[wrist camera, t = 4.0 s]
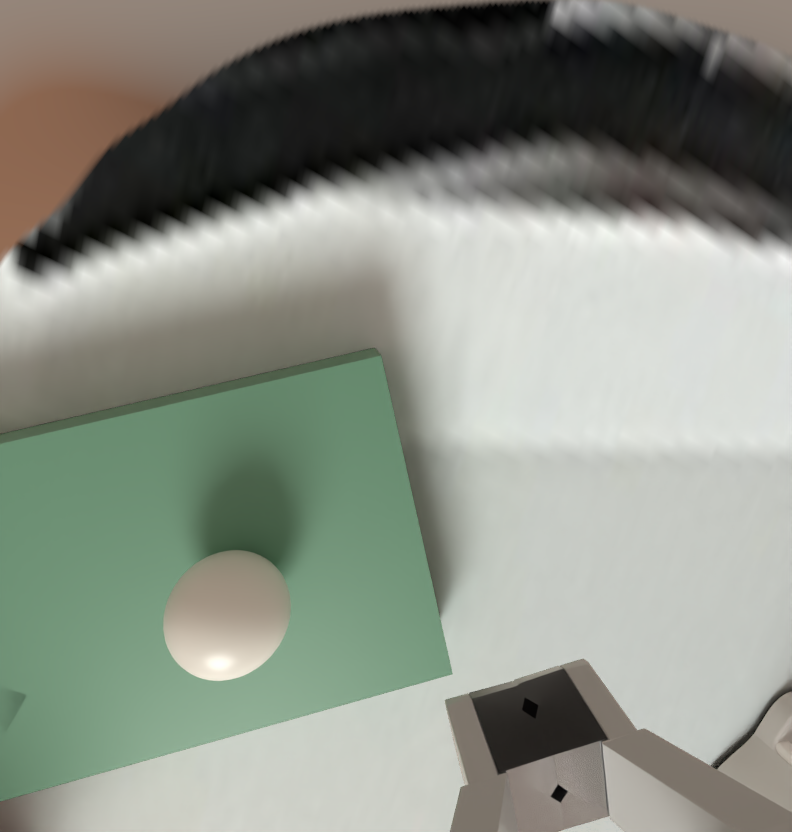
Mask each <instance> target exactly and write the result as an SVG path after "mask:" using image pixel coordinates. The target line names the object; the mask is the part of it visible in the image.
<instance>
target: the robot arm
mask: <svg viewBox="0 0 792 832" xmlns="http://www.w3.org/2000/svg"><path fill="white" fill-rule="evenodd" d="M445 705H446V710H447V714H448V719H449V723H450V727H451V732H452V736H453V740H454V745H455V749H456V753H457V757H458V761H459V765H460V769H461V773H462V776H463V780H464V784H465V786H462V787H461V789H460V793H459V797H458V801H457V805H456V809H455V813H454V817H453V821H452V825H451V830H450V832H558V831H561V830H564V829H567V828H571V827H574V826H577V825H581V824H584V823H587V822H591V821H594V820H598V819H601V818H604V817H608V816H610V820H612V821H613V822H614V823H615V824H616V825H617V826H618V827H620V828H621V829H622V830H623V831H624V832H792V692H789V693H786V694H784V695H783V696H781V697H780V698H779V699H778V700H777V701H776V702H775V703H774V704H773V705H772V707H771V708H770V709H769V711H768V712H767V714H766V715H765V717H764V718H763V720H762V721H761V723H760V725H759V726H758V728H757V730H756V731H755V733H754V734H753V736H752V737H751V738H750V739H749V740H748V741H747V742H746V743H745V744H744V745H743V746H741V747H740V748H739V749H738V750H737V751H736V752H735V753H734V754H732V755H731V756H730V757H729V758H728V759H727V760H726V761H725V762H724V763H723V764H722V765H721V766H720V767H719V768H718V769H715V768H713V767H711V766H710V765H708V764H706V763H704V762H703V761H701V760H699V759H697V758H696V757H694V756H692V755H690V754H689V753H687V752H685V751H683V750H682V749H680V748H678V747H676V746H675V745H673V744H671V743H669V742H668V741H666V740H664V739H662V738H661V737H659V736H657V735H655V734H654V733H652V732H650V731H648V730H647V729H641V730H637V729H636V728H635V726H634V725H633V724H632V722H631V721H630V719H629V718H628V717H627V715H626V714H625V712H624V711H623V710H622V708H621V707H620V706H619V704H618V703H617V701H616V700H615V699H614V697H613V696H612V694H611V693H610V692H609V690H608V689H607V687H606V686H605V685H604V683H603V682H602V680H601V679H600V678H599V676H598V675H597V673H596V672H595V671H594V669H593V668H592V666H591V665H590V664H589V662H588V661H586V660H585V659H580V660H577V661H574V662H570V663H567V664H564V665H561V666H556V667H553V668H549V669H546V670H543V671H540V672H537V673H534V674H531V675H527V676H524V677H521V678H518V679H515V680H514V681H511V682H507V683H504V684H500V685H496V686H493V687H489V688H485V689H481V690H478V691H474V692H470V693H469V694H464V695H460V696H457V697H453V698H450V699H446V700H445Z"/></svg>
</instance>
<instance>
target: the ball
mask: <svg viewBox="0 0 792 832" xmlns="http://www.w3.org/2000/svg"><path fill="white" fill-rule="evenodd" d="M290 612H291V600H290V593H289V589H288V586H287V584H286V581H285V579H284V577H283V576H282V574H281V572H280V571H279V570H278V569H277V568H276V566H275V565H273V564H272V563H271V562H270V561H269V560H267V559H266V558H264V557H262V556H261V555H258V554H256V553H253V552H249V551H243V550H229V551H223V552H219V553H216V554H213V555H210V556H208V557H206V558H204V559H202V560H201V561H199V562H197V563H196V564H194V565H193V566H192V567H191V568H190V569H188V570H187V571H186V572H185V573H184V574H183V576H182V577H181V578H180V579H179V581H178V582H177V583H176V585H175V586H174V588H173V590H172V592H171V594H170V596H169V598H168V601H167V604H166V607H165V612H164V618H163V631H164V637H165V642H166V645H167V648H168V649H169V651H170V653H171V655H172V657H173V658H174V660H175V661H176V662H177V663H178V664H179V665H180V666H181V667H182V668H183V669H184V670H186V671H187V672H189V673H190V674H192V675H194V676H196V677H199V678H202V679H206V680H212V681H224V680H230V679H235V678H238V677H241V676H244V675H246V674H248V673H250V672H252V671H253V670H255V669H257V668H258V667H260V666H261V665H262V664H263V663H264V662H265V661H267V660H268V659H269V658H270V657H271V656H272V654H273V653H274V652H275V650H276V649H277V648H278V646H279V645H280V643H281V641H282V640H283V637H284V635H285V633H286V630H287V628H288V624H289V619H290Z"/></svg>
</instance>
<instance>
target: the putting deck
mask: <svg viewBox="0 0 792 832" xmlns="http://www.w3.org/2000/svg"><path fill="white" fill-rule="evenodd" d="M229 550H243V551H249V552H253V553H256V554H258V555H261V556H262V557H264V558H266V559H267V560H269V561H270V562H271V563H272V564H273V565H275V566H276V568H277V569H278V570H279V571H280V572H281V574H282V576H283V577H284V579H285V581H286V584H287V586H288V589H289V593H290V600H291V612H290V619H289V624H288V628H287V630H286V633H285V635H284V637H283V640H282V641H281V643H280V645H279V646H278V648H277V649H276V650H275V652H274V653H273V654H272V656H271V657H270V658H269V659H268V660H267V661H265V662H264V663H263V664H262V665H261V666H260V667H258V668H257V669H255V670H253V671H252V672H250V673H248V674H246V675H244V676H241V677H238V678H235V679H230V680H224V681H212V680H206V679H202V678H199V677H196V676H194V675H192V674H190V673H189V672H187V671H186V670H184V669H183V668H182V667H181V666H180V665H179V664H178V663H177V662H176V661H175V660H174V658H173V657H172V655H171V653H170V651H169V649H168V648H167V645H166V642H165V637H164V631H163V618H164V612H165V607H166V604H167V601H168V598H169V596H170V594H171V592H172V590H173V588H174V586H175V585H176V583H177V582H178V581H179V579H180V578H181V577H182V576H183V574H184V573H185V572H186V571H187V570H188V569H190V568H191V567H192V566H193V565H194V564H196V563H197V562H199V561H201V560H202V559H204V558H206V557H208V556H210V555H213V554H216V553H219V552H223V551H229ZM451 674H452V669H451V665H450V660H449V656H448V651H447V647H446V642H445V638H444V633H443V629H442V625H441V620H440V616H439V611H438V607H437V602H436V598H435V593H434V589H433V584H432V580H431V575H430V571H429V567H428V562H427V558H426V553H425V549H424V544H423V540H422V535H421V531H420V526H419V522H418V517H417V513H416V509H415V504H414V500H413V495H412V491H411V486H410V482H409V477H408V473H407V468H406V464H405V459H404V455H403V451H402V446H401V442H400V437H399V433H398V428H397V424H396V419H395V415H394V410H393V406H392V401H391V397H390V393H389V388H388V384H387V379H386V375H385V370H384V366H383V361H382V357H381V355H380V353H379V352H378V351H377V350H376V349H375V348H372V349H367V350H363V351H359V352H354V353H350V354H346V355H341V356H337V357H333V358H328V359H324V360H320V361H315V362H311V363H307V364H302V365H298V366H294V367H289V368H285V369H281V370H276V371H272V372H268V373H263V374H259V375H255V376H250V377H246V378H242V379H237V380H233V381H229V382H224V383H220V384H216V385H211V386H207V387H203V388H198V389H194V390H190V391H185V392H181V393H177V394H172V395H168V396H164V397H159V398H155V399H151V400H146V401H142V402H137V403H133V404H129V405H124V406H120V407H116V408H111V409H107V410H103V411H98V412H94V413H90V414H85V415H81V416H77V417H72V418H68V419H64V420H59V421H55V422H51V423H46V424H42V425H38V426H33V427H29V428H25V429H20V430H16V431H12V432H7V433H3V434H0V802H1V801H4V800H8V799H11V798H15V797H18V796H22V795H25V794H29V793H32V792H36V791H40V790H43V789H47V788H50V787H54V786H57V785H61V784H64V783H68V782H71V781H75V780H79V779H82V778H86V777H89V776H93V775H96V774H100V773H103V772H107V771H111V770H114V769H118V768H121V767H125V766H128V765H132V764H135V763H139V762H142V761H146V760H150V759H153V758H157V757H160V756H164V755H167V754H171V753H174V752H178V751H182V750H185V749H189V748H192V747H196V746H199V745H203V744H206V743H210V742H213V741H217V740H221V739H224V738H228V737H231V736H235V735H238V734H242V733H245V732H249V731H253V730H256V729H260V728H263V727H267V726H270V725H274V724H277V723H281V722H284V721H288V720H292V719H295V718H299V717H302V716H306V715H309V714H313V713H316V712H320V711H323V710H327V709H331V708H334V707H338V706H341V705H345V704H348V703H352V702H355V701H359V700H363V699H366V698H370V697H373V696H377V695H380V694H384V693H387V692H391V691H394V690H398V689H402V688H405V687H409V686H412V685H416V684H419V683H423V682H426V681H430V680H434V679H437V678H441V677H444V676H448V675H451Z"/></svg>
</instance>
